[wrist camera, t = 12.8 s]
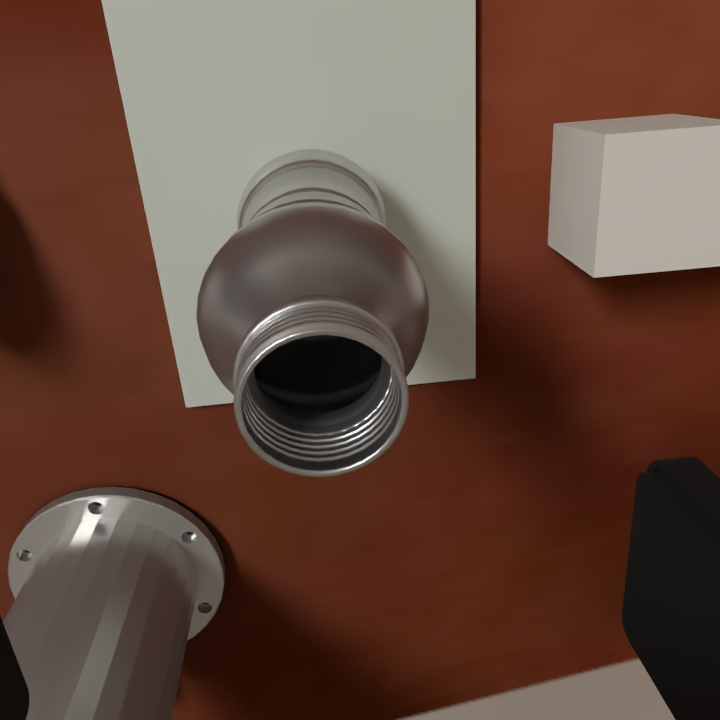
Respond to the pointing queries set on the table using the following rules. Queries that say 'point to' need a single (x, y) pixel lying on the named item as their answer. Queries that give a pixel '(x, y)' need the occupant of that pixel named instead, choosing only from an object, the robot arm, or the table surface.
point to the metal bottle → (314, 316)
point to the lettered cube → (636, 194)
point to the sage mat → (304, 139)
